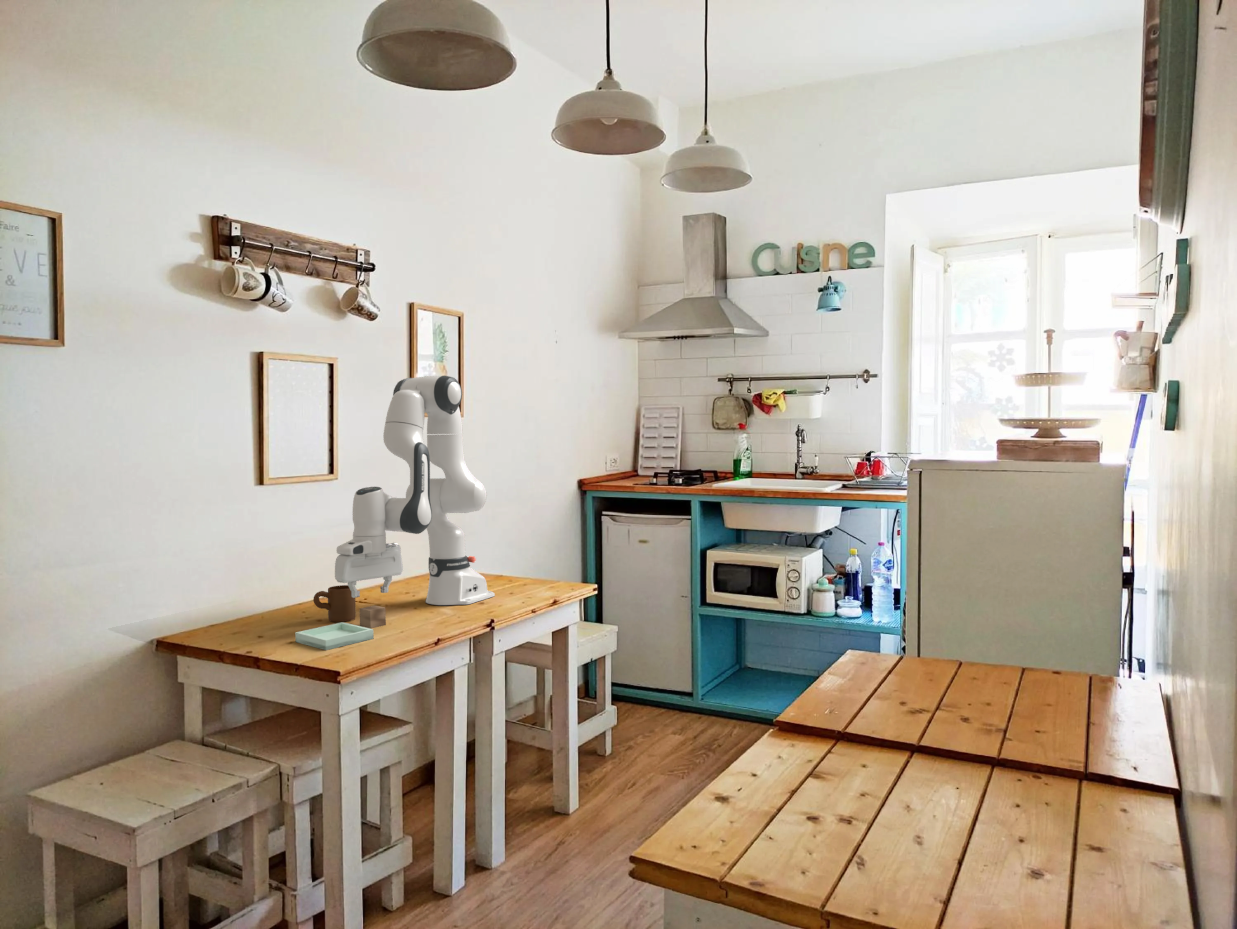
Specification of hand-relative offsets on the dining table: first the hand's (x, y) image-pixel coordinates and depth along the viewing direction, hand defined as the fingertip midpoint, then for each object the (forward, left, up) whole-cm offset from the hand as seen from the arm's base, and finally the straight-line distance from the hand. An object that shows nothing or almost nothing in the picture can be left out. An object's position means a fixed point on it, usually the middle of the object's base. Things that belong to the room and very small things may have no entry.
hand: (370, 594), depth 239 cm
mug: (+2, -14, -9) cm, 17 cm away
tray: (+15, +6, -9) cm, 19 cm away
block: (-1, 0, -9) cm, 9 cm away
